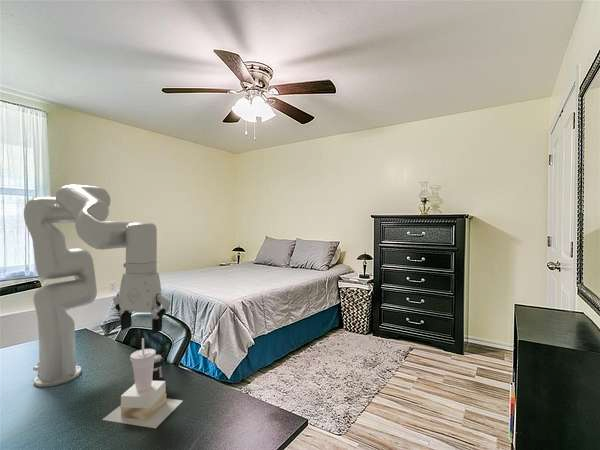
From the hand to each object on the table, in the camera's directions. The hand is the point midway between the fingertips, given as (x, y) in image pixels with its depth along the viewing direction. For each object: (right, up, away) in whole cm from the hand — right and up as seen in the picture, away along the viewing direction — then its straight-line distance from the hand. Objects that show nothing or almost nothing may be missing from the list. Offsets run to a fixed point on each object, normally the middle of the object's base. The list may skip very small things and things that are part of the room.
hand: (141, 330), depth 86 cm
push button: (-2, -23, +11) cm, 25 cm away
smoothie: (+1, -16, 0) cm, 16 cm away
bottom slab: (+1, -22, 0) cm, 22 cm away
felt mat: (+1, -23, 0) cm, 23 cm away
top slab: (+1, -19, 0) cm, 19 cm away
